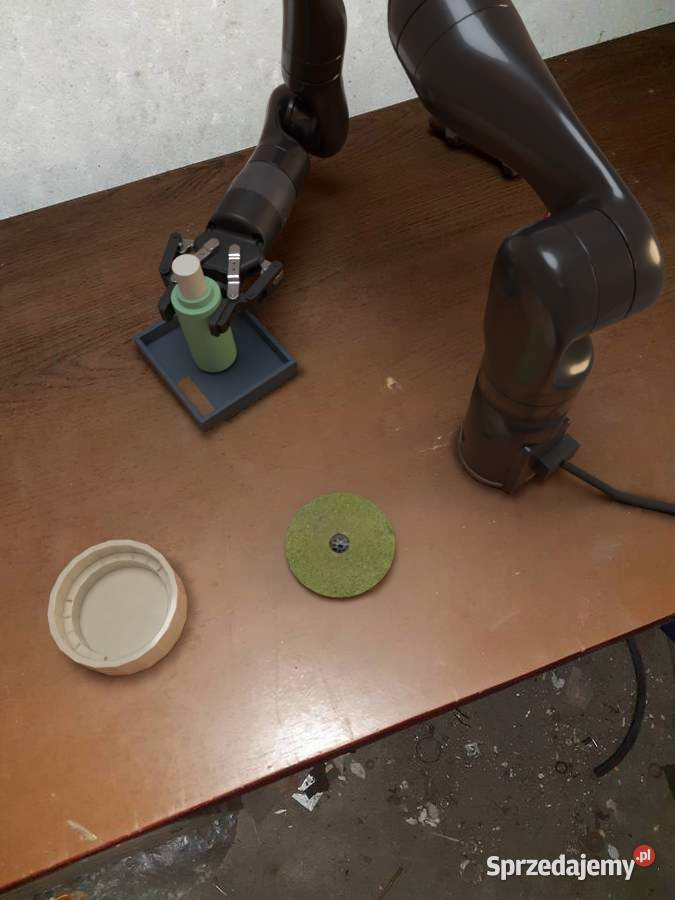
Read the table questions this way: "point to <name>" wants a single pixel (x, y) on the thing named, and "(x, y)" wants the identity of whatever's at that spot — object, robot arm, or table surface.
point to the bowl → (117, 607)
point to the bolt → (457, 141)
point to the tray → (228, 389)
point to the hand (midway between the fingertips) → (188, 323)
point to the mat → (340, 545)
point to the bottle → (200, 315)
